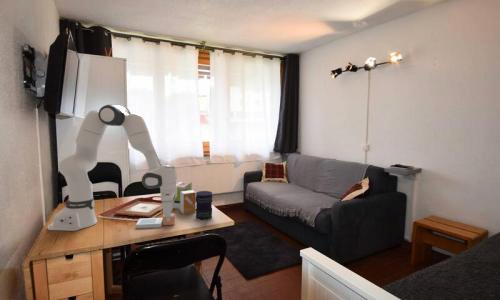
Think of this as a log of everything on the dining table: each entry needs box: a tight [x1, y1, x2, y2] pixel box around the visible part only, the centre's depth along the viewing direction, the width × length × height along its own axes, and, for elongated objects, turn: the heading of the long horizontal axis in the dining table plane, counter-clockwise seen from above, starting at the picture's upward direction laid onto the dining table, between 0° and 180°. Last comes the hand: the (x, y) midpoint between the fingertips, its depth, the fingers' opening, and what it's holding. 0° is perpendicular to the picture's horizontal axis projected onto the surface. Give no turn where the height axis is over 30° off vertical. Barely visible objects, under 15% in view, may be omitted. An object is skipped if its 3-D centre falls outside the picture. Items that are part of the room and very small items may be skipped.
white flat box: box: [135, 217, 163, 229], centre depth 150 cm, size 13×9×2 cm
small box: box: [179, 189, 196, 215], centre depth 171 cm, size 8×6×13 cm
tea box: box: [173, 181, 193, 209], centre depth 184 cm, size 15×10×15 cm, turn 172°
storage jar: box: [195, 190, 213, 221], centre depth 162 cm, size 10×10×15 cm
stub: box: [162, 212, 176, 226], centre depth 151 cm, size 6×5×5 cm
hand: (169, 217), depth 151 cm, fingers open, 8 cm apart
